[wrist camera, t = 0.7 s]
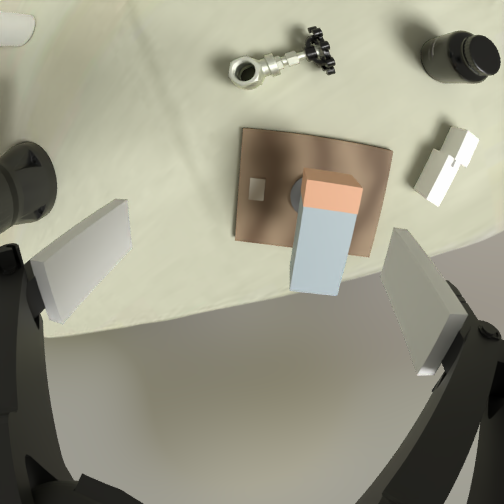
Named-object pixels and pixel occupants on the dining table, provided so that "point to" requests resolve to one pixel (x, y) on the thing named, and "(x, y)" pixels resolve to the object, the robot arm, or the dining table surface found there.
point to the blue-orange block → (323, 230)
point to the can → (15, 28)
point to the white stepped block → (446, 164)
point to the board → (290, 180)
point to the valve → (283, 61)
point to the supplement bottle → (460, 58)
